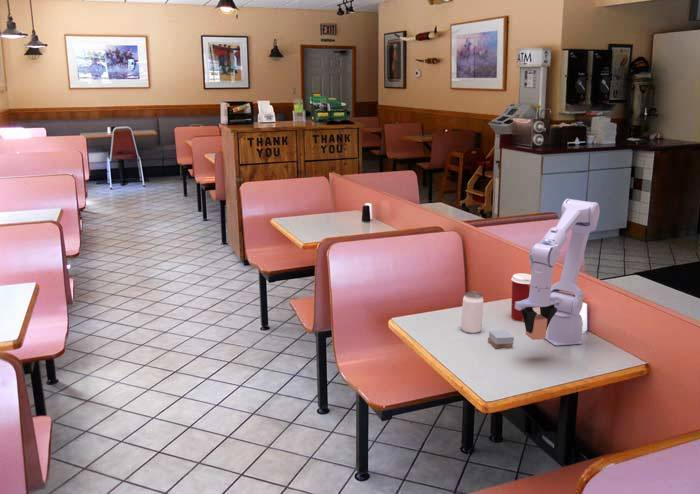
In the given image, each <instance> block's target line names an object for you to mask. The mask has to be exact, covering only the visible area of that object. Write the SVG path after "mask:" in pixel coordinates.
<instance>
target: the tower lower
mask: <svg viewBox="0 0 700 494" xmlns="http://www.w3.org/2000/svg"><path fill="white" fill-rule="evenodd" d="M487 343H488V344H489V345H490V344H491V345H492V348H494V349H495V350H502V349H501V348H506V349H513V347H514V343H513V344H495V343H494V342H493V341H492V340H491V339H490V338H489V337H488V338H487ZM491 345H490V346H491Z"/></svg>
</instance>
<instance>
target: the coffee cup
mask: <svg viewBox="0 0 700 494" xmlns="http://www.w3.org/2000/svg"><path fill="white" fill-rule="evenodd" d="M510 280H511V281H512V282H511V310H510V311H511V315H510V316H511V319H512V320H513V321H516V322H521V323H522V322H524V318H523V316H522V313H521V311H520V310H517V309H515V302H518V301H522V300H525V299H528V297H529V291H530V281H531V274H529V273H521V272H520V273H519V272H518V273H515V274H513V275H512V277H511V279H510ZM524 323H525V322H524Z"/></svg>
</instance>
